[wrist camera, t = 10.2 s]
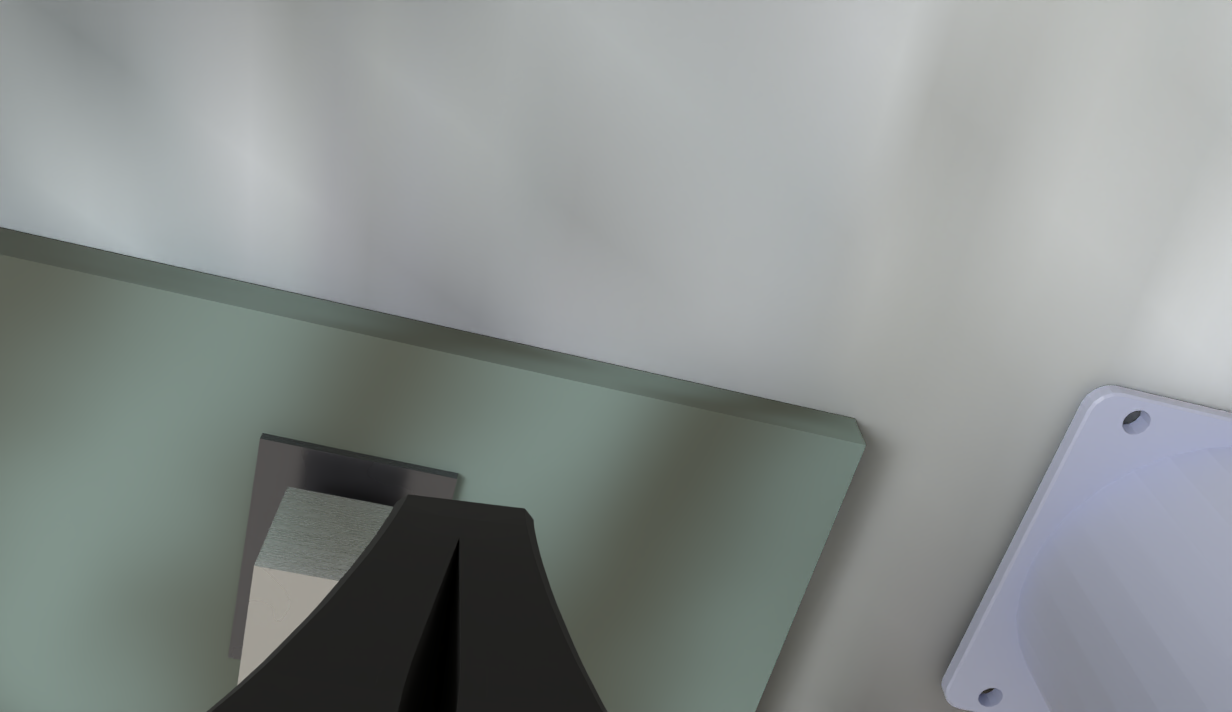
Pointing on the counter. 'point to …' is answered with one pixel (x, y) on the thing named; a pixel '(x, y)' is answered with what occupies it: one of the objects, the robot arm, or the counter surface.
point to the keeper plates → (324, 474)
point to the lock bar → (303, 564)
